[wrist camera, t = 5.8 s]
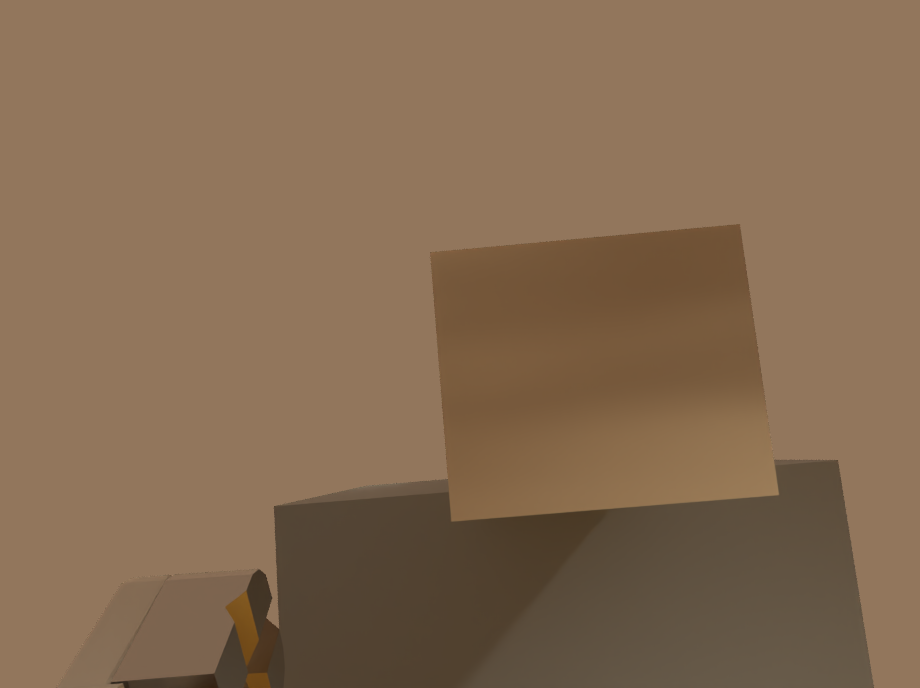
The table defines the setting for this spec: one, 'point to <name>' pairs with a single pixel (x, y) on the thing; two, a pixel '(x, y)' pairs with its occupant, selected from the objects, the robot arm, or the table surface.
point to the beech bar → (600, 374)
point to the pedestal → (572, 592)
